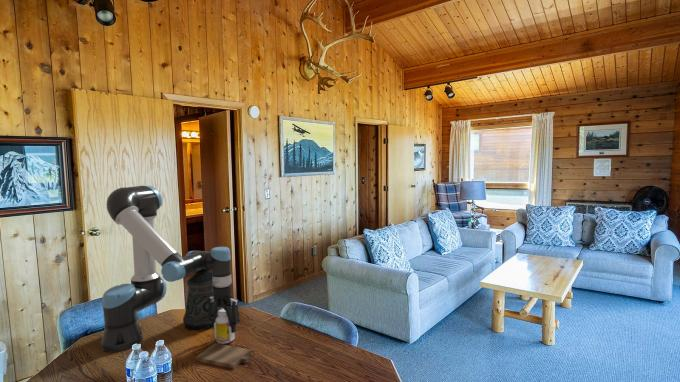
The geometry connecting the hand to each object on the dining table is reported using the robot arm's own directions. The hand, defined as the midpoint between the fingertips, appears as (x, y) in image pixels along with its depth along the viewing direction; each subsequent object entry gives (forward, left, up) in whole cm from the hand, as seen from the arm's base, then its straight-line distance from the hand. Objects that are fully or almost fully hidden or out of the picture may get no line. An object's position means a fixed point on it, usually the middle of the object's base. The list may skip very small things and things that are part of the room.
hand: (224, 338), depth 154 cm
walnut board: (+9, -11, -1) cm, 14 cm away
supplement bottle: (0, 0, -1) cm, 1 cm away
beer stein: (-20, +12, -1) cm, 23 cm away
